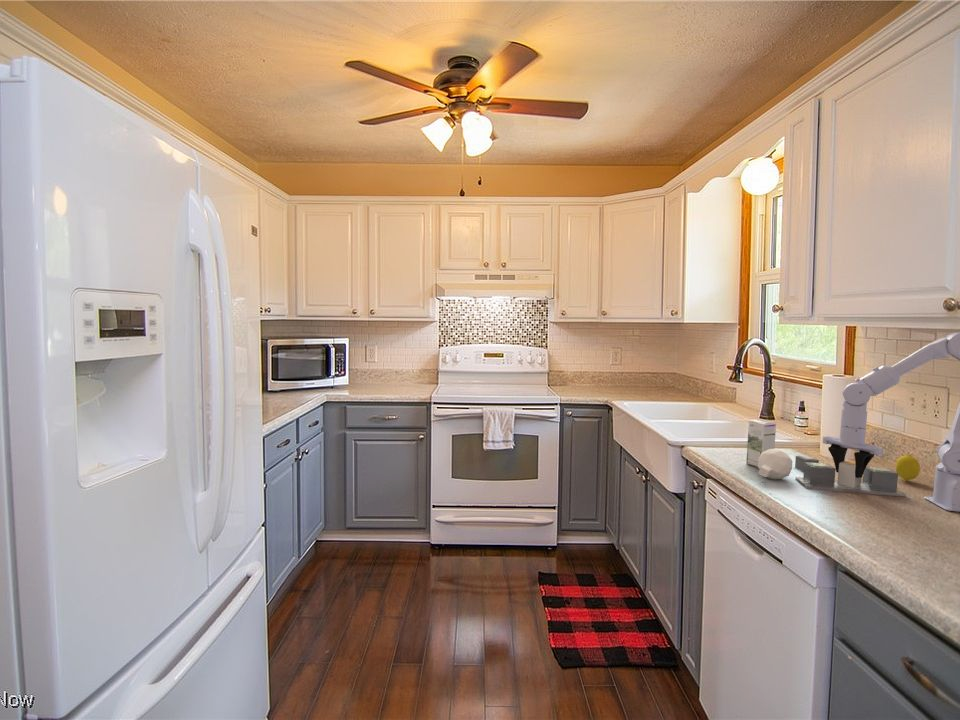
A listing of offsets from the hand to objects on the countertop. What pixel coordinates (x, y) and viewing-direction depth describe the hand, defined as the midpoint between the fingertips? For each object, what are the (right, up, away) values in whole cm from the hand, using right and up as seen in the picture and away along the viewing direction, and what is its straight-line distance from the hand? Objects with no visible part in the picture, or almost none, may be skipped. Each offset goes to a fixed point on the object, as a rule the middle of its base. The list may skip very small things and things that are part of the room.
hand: (849, 474), depth 146 cm
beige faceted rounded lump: (-18, -3, +7) cm, 20 cm away
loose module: (+1, -3, +1) cm, 3 cm away
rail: (0, -4, 0) cm, 4 cm away
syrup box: (-14, -2, +21) cm, 25 cm away
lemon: (+22, -4, +8) cm, 24 cm away
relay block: (-1, -2, +17) cm, 17 cm away
